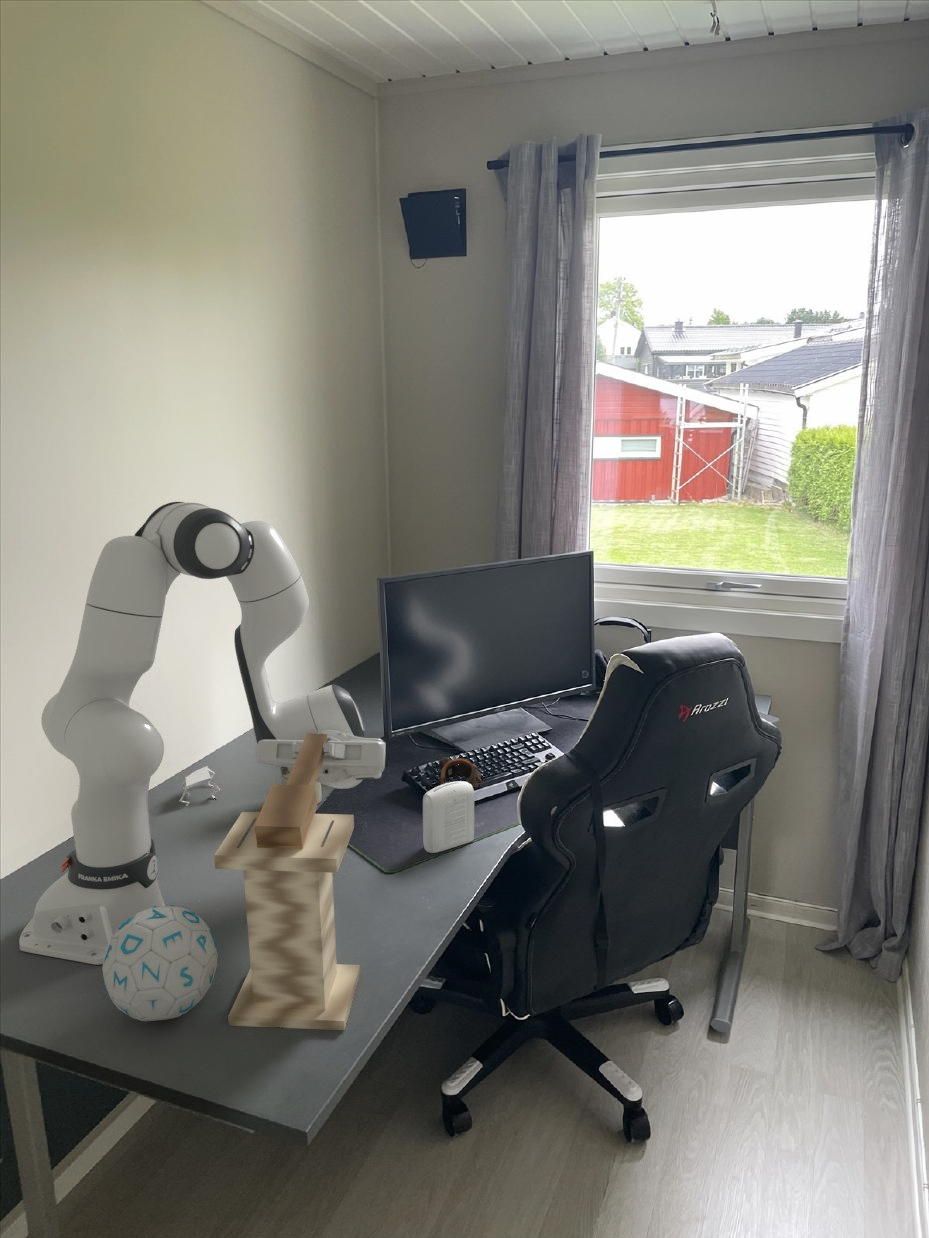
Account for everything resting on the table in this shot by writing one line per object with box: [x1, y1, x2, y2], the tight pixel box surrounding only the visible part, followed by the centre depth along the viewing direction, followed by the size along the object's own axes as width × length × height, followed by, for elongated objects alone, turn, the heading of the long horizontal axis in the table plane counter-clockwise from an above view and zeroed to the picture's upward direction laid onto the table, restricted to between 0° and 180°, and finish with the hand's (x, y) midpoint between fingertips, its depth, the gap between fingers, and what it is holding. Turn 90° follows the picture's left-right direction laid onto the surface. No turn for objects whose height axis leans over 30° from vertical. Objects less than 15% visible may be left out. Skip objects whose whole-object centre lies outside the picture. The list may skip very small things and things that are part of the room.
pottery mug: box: [438, 756, 483, 789], centre depth 193 cm, size 12×10×8 cm
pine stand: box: [213, 811, 361, 1031], centre depth 126 cm, size 16×12×26 cm
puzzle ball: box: [102, 904, 219, 1022], centre depth 125 cm, size 15×15×15 cm
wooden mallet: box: [254, 734, 328, 849], centre depth 129 cm, size 6×24×4 cm, turn 176°
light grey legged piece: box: [178, 765, 221, 807], centre depth 191 cm, size 12×8×5 cm
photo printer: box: [422, 780, 475, 854], centre depth 170 cm, size 10×4×12 cm, turn 123°
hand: (312, 748), depth 136 cm, fingers closed on wooden mallet, 3 cm apart
